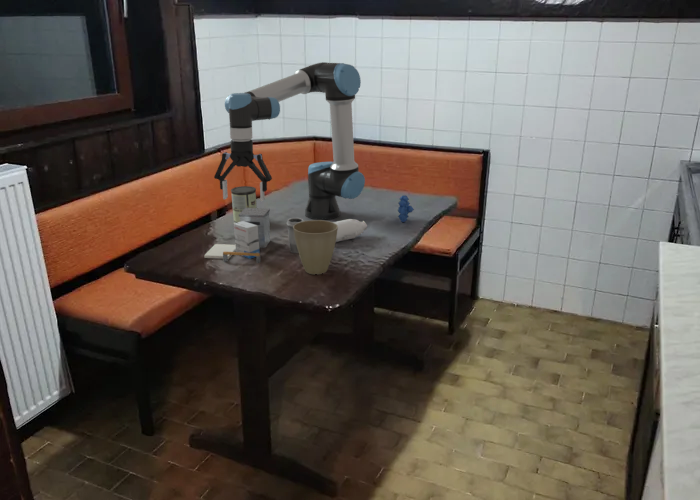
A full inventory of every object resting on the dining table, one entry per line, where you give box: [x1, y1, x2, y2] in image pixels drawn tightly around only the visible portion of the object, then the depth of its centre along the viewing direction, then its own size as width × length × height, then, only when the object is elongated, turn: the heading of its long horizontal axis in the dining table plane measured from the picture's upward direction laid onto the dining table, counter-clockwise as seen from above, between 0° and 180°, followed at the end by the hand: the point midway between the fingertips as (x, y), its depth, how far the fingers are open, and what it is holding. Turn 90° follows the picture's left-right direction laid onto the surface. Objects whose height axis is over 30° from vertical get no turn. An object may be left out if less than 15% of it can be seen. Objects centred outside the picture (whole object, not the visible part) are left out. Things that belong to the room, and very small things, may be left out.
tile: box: [204, 243, 236, 260], centre depth 227 cm, size 9×12×1 cm
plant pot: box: [293, 219, 338, 275], centre depth 208 cm, size 15×15×16 cm
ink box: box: [233, 221, 261, 260], centre depth 223 cm, size 9×5×12 cm, turn 47°
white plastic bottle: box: [332, 218, 368, 243], centre depth 239 cm, size 8×19×8 cm, turn 123°
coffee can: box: [230, 185, 258, 224], centre depth 260 cm, size 10×10×14 cm
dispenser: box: [222, 208, 271, 264], centre depth 227 cm, size 13×24×13 cm, turn 173°
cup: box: [286, 217, 305, 254], centre depth 227 cm, size 7×7×12 cm
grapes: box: [397, 194, 415, 223], centre depth 259 cm, size 12×7×12 cm, turn 163°
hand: (243, 199), depth 220 cm, fingers open, 13 cm apart
